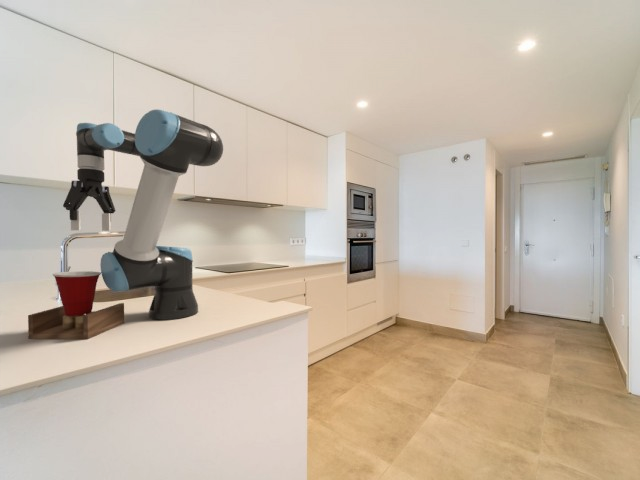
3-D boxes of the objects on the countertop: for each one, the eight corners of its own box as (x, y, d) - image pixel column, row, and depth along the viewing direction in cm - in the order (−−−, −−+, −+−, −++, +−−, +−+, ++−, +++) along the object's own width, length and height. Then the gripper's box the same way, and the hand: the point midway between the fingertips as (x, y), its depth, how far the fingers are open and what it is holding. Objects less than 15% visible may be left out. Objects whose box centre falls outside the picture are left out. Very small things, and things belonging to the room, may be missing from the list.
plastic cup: (96, 315, 83) (94, 272, 83) (47, 321, 79) (44, 275, 79) (108, 307, 93) (106, 268, 93) (64, 311, 89) (62, 271, 89)
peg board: (124, 323, 93) (124, 303, 92) (88, 339, 79) (87, 315, 78) (73, 322, 93) (73, 303, 93) (28, 338, 79) (28, 315, 79)
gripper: (106, 176, 118) (107, 230, 118) (47, 161, 93) (48, 230, 93) (125, 176, 117) (126, 230, 118) (71, 161, 92) (72, 230, 93)
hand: (92, 230), depth 105 cm, fingers open, 13 cm apart
